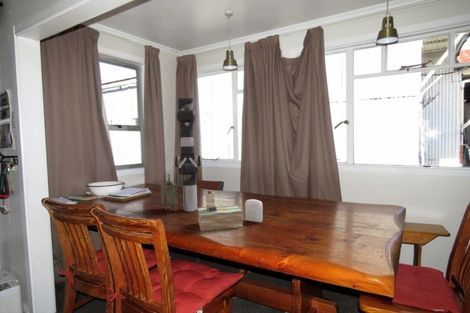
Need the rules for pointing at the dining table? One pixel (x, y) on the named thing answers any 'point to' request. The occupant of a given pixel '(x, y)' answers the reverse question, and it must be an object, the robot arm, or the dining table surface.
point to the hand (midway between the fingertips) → (188, 174)
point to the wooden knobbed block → (209, 200)
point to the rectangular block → (220, 217)
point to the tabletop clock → (169, 194)
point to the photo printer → (253, 210)
